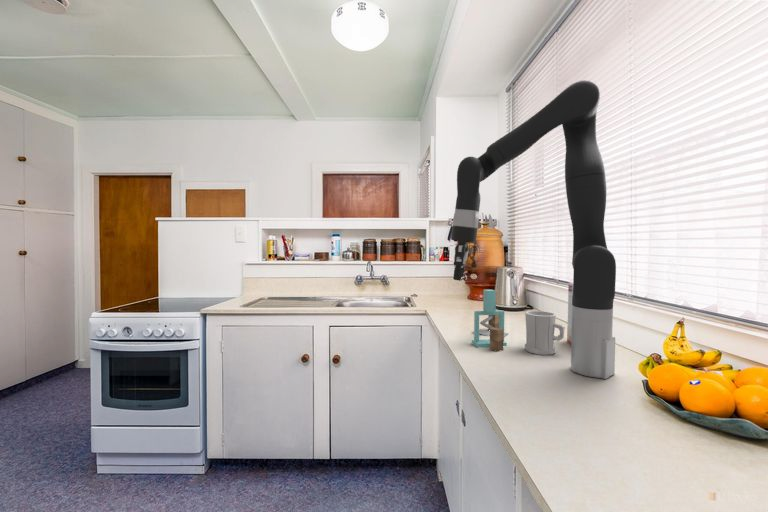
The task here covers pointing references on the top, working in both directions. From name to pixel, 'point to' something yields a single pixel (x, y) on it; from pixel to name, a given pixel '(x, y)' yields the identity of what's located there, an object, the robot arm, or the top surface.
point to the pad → (488, 332)
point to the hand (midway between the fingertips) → (458, 278)
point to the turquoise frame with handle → (489, 309)
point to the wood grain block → (495, 334)
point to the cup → (541, 332)
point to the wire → (486, 321)
